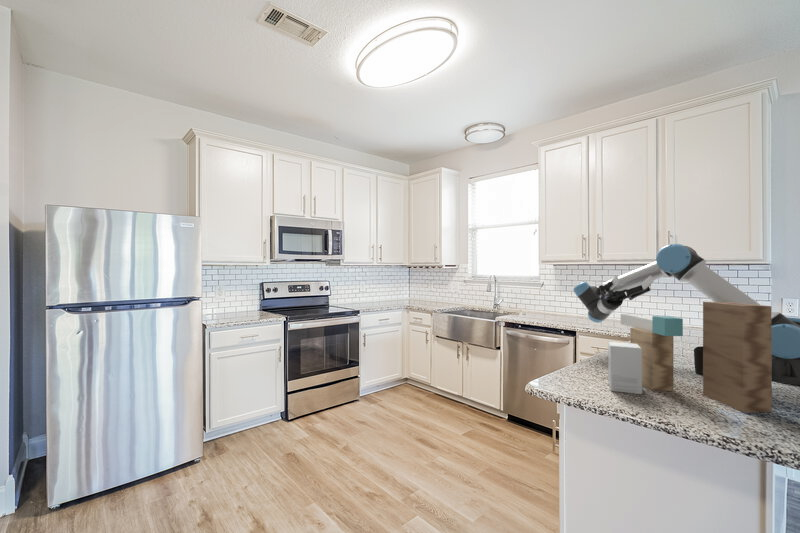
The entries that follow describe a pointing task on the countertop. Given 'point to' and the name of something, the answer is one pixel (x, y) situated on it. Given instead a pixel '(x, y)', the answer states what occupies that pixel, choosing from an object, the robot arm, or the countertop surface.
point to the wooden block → (655, 359)
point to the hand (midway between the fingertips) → (634, 278)
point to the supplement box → (625, 367)
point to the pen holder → (698, 360)
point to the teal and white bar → (655, 324)
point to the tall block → (738, 355)
